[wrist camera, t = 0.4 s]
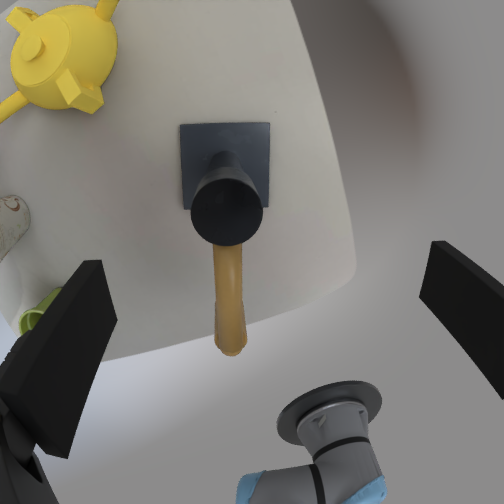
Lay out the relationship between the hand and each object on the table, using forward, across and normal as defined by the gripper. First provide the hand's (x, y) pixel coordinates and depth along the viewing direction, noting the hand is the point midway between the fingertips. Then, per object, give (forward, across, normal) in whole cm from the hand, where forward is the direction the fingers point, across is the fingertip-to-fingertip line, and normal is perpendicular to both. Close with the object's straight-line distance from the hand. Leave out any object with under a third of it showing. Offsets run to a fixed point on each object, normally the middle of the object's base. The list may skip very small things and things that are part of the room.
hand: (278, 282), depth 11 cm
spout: (+16, +2, +5) cm, 17 cm away
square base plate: (+27, +2, 0) cm, 27 cm away
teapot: (+27, +19, -16) cm, 37 cm away
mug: (+27, +34, +5) cm, 44 cm away
